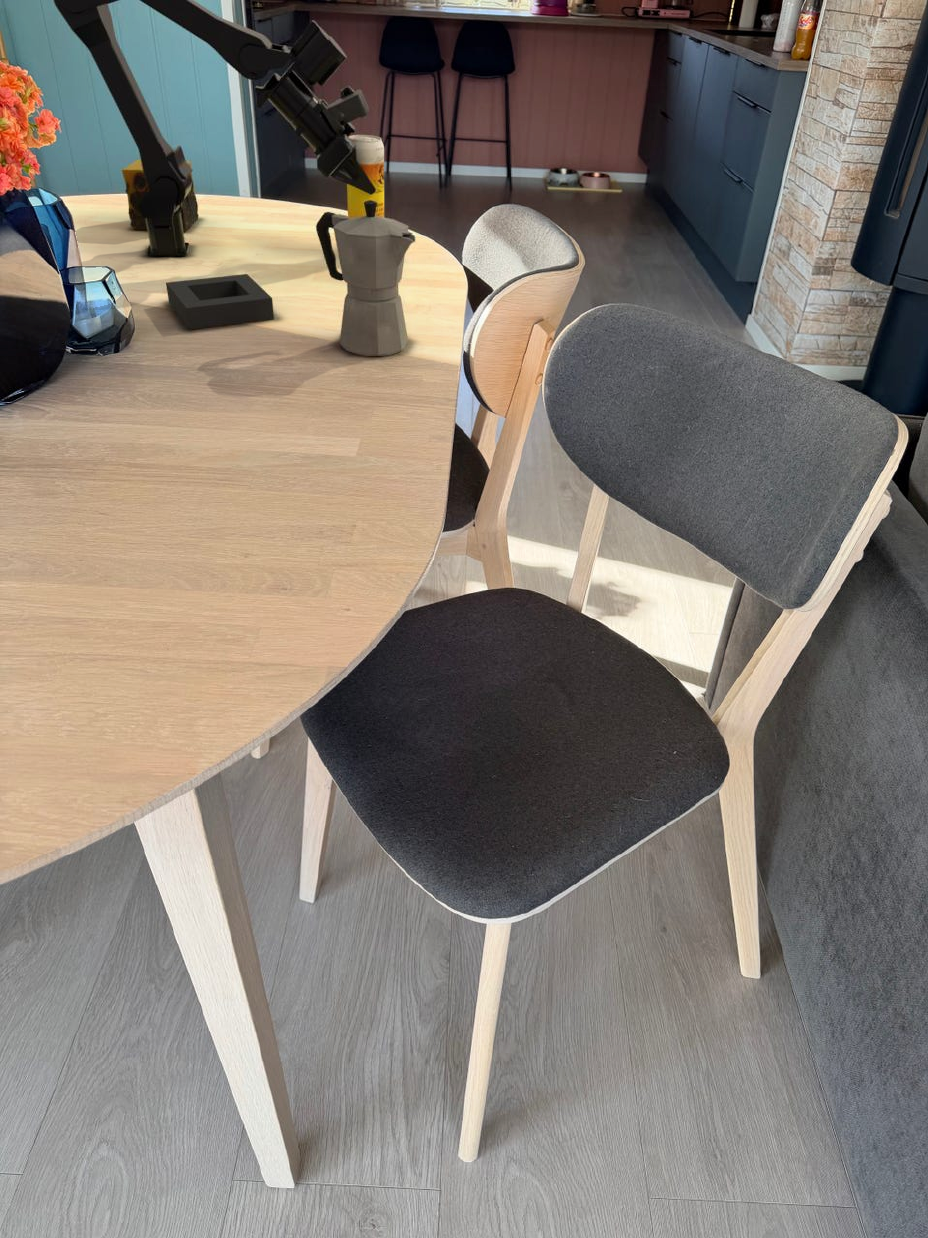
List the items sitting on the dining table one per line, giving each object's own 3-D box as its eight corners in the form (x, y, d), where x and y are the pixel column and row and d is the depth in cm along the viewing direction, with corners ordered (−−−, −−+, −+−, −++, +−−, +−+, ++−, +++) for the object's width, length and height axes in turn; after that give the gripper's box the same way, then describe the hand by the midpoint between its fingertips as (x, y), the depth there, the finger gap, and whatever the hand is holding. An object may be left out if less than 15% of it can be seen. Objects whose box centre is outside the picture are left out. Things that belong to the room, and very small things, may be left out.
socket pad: (168, 303, 131) (165, 282, 129) (249, 293, 136) (247, 273, 134) (189, 329, 123) (186, 307, 121) (274, 318, 127) (272, 297, 126)
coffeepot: (434, 345, 121) (436, 202, 111) (392, 366, 115) (390, 216, 104) (345, 321, 128) (339, 183, 117) (301, 339, 121) (290, 195, 111)
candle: (186, 232, 162) (178, 171, 156) (130, 230, 162) (119, 169, 156) (200, 218, 170) (193, 160, 164) (147, 216, 170) (137, 157, 164)
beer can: (378, 242, 150) (378, 142, 141) (343, 238, 151) (340, 138, 142) (388, 233, 155) (388, 136, 146) (354, 229, 156) (352, 132, 147)
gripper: (335, 76, 131) (410, 162, 138) (339, 61, 145) (407, 140, 153) (284, 134, 135) (360, 215, 142) (293, 114, 149) (361, 189, 157)
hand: (374, 187), depth 148 cm, fingers closed on beer can, 6 cm apart
